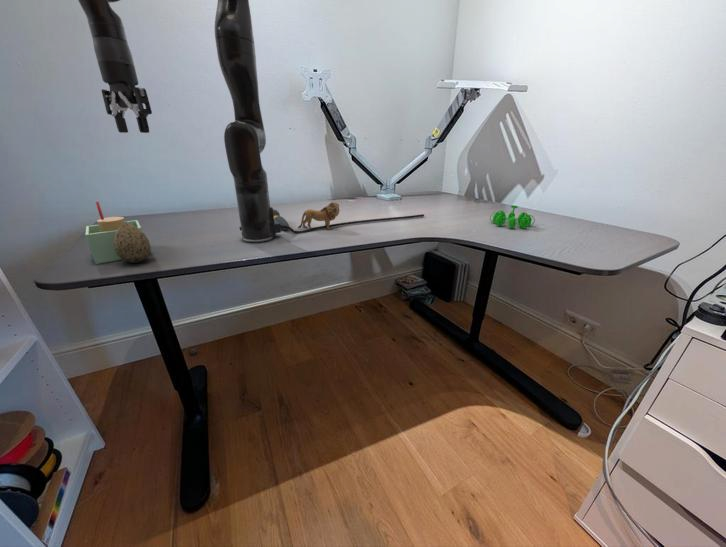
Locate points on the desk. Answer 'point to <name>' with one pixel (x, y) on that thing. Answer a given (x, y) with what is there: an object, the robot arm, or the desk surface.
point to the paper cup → (109, 221)
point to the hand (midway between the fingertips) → (134, 132)
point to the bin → (104, 243)
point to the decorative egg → (131, 244)
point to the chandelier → (512, 219)
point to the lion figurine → (321, 215)
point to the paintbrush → (280, 219)
